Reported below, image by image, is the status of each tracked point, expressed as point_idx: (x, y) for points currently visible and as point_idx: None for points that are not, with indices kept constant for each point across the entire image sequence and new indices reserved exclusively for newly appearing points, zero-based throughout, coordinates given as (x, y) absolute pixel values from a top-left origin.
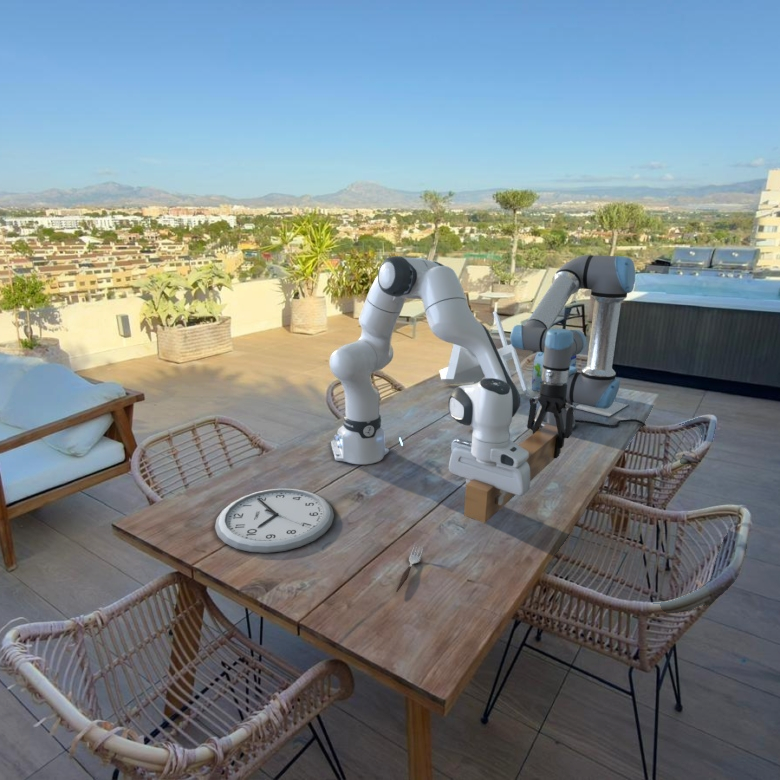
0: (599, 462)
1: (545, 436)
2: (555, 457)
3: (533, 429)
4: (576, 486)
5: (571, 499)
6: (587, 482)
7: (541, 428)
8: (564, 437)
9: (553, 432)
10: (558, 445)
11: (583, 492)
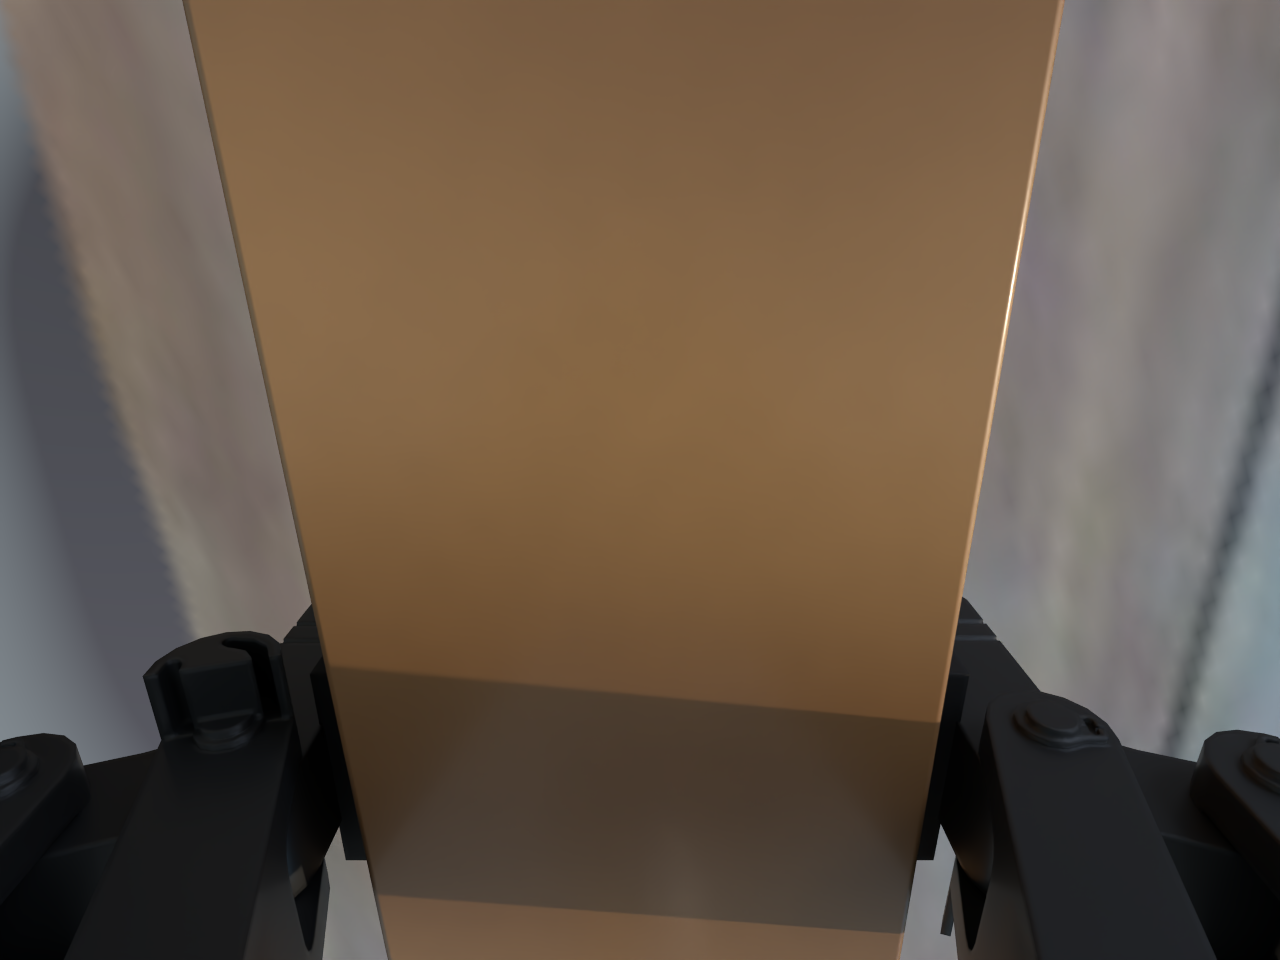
0: (359, 926)
1: (518, 360)
2: None
3: (1090, 739)
4: (259, 377)
5: (121, 9)
6: (231, 530)
7: (889, 896)
8: (150, 763)
9: (481, 832)
10: None
11: (134, 287)
